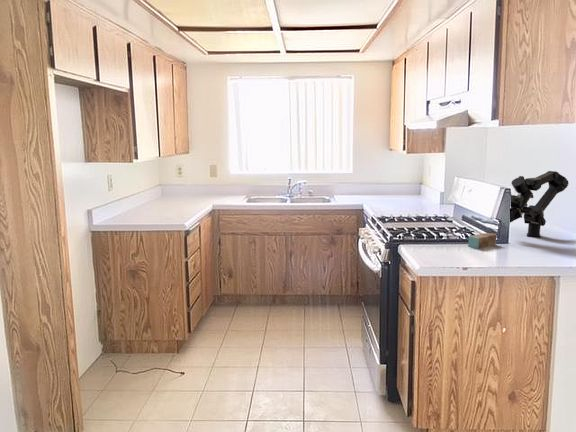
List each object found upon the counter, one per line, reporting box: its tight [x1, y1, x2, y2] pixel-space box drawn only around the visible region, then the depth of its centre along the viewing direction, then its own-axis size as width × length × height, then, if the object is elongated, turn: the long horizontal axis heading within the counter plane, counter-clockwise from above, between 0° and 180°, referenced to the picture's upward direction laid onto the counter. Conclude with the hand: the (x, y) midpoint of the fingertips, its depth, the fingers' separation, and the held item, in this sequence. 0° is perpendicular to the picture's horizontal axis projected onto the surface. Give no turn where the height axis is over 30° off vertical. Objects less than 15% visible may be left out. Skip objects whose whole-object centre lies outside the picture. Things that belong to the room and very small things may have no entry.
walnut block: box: [467, 232, 498, 250], centre depth 238 cm, size 5×5×14 cm
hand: (506, 223), depth 247 cm, fingers closed
